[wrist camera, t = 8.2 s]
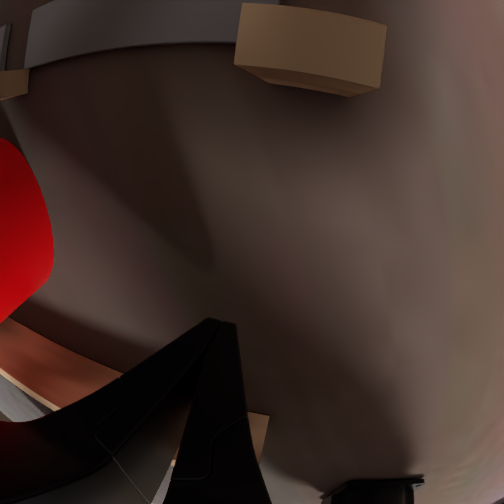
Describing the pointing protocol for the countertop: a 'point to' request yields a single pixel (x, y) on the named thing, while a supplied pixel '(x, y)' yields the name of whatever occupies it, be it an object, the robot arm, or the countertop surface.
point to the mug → (21, 231)
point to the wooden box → (179, 32)
